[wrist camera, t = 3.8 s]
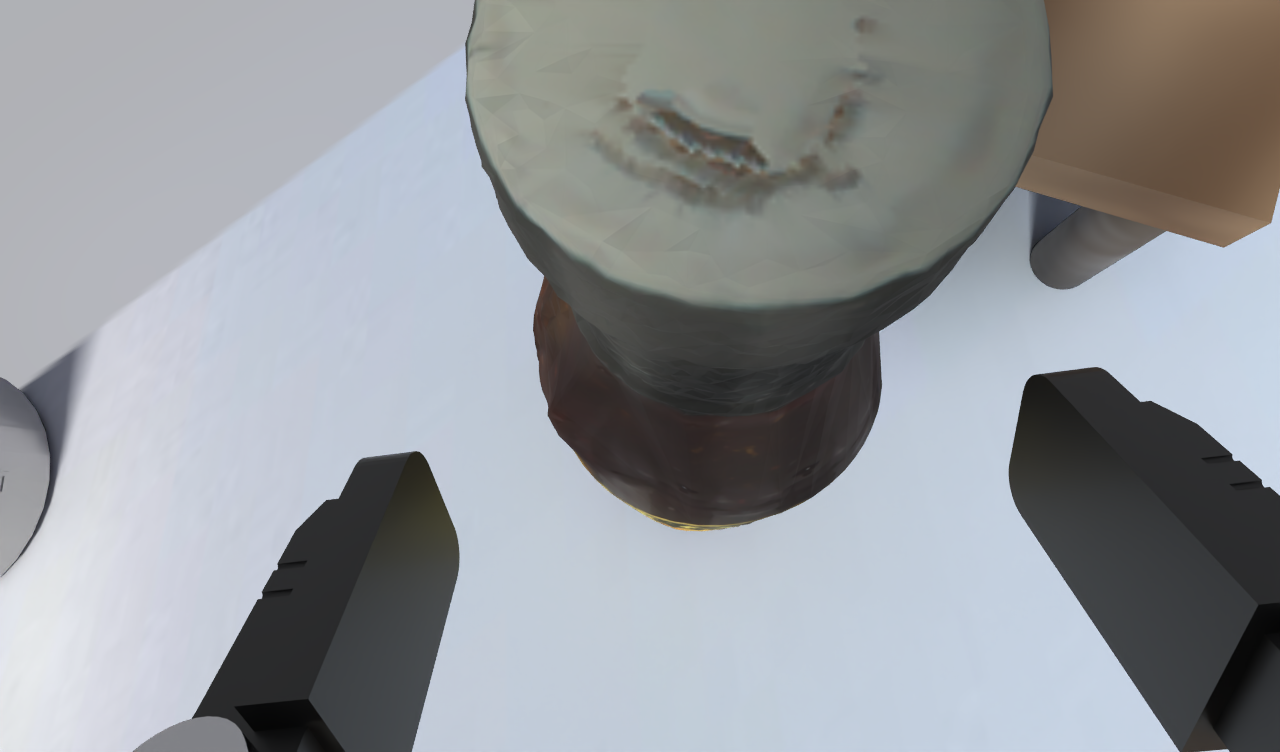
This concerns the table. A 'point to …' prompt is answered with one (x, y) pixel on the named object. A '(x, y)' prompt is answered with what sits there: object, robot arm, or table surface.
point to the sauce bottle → (741, 217)
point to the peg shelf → (1156, 127)
